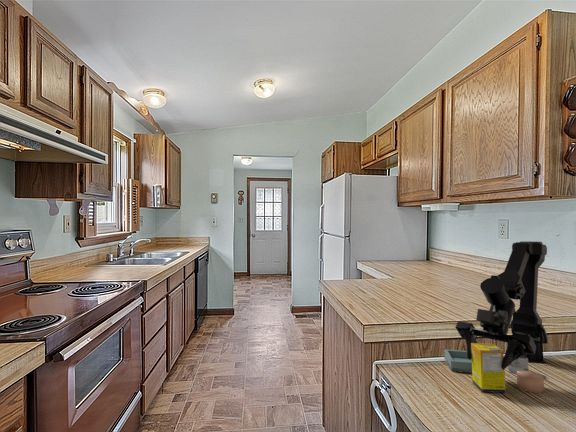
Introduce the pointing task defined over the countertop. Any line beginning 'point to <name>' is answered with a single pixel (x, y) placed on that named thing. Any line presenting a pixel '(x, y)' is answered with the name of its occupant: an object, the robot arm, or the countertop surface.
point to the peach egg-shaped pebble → (530, 381)
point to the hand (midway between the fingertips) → (485, 363)
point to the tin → (519, 365)
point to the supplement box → (487, 367)
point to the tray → (458, 360)
